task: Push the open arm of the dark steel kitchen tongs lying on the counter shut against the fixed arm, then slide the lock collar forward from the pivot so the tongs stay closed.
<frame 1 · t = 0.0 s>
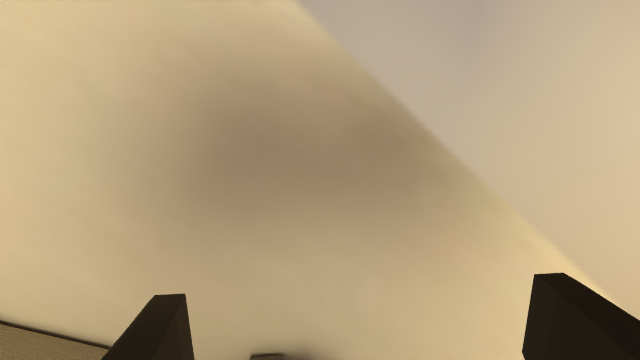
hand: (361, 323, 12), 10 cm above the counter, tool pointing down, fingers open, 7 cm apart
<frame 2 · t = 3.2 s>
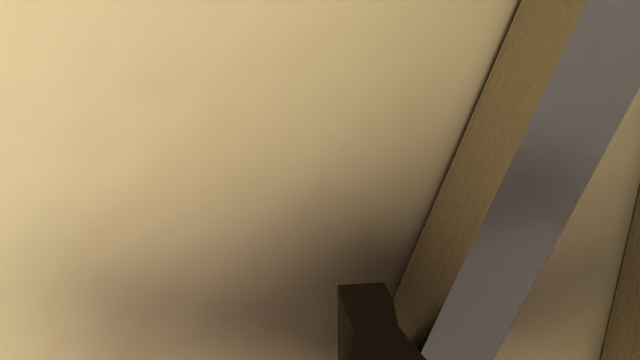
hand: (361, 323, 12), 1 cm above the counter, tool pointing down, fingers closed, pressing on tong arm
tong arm: (452, 276, 12), point 1 cm above the counter, hinge at -18.2°, touching gripper
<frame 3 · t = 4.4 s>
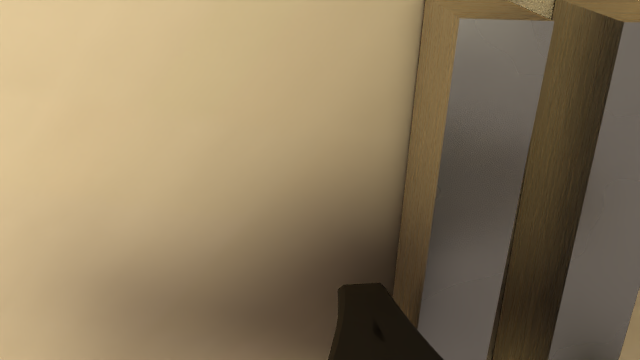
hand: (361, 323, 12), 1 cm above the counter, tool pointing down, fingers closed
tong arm: (428, 311, 12), point 1 cm above the counter, hinge at -1.5°, touching gripper
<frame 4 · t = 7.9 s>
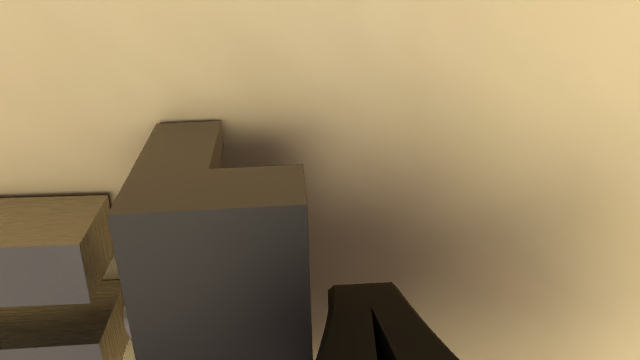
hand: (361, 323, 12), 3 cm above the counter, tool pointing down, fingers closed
tongs base: (195, 258, 15), on the counter
lock collar: (234, 301, 13), point 2 cm above the counter, slide at 0.0 cm, touching gripper
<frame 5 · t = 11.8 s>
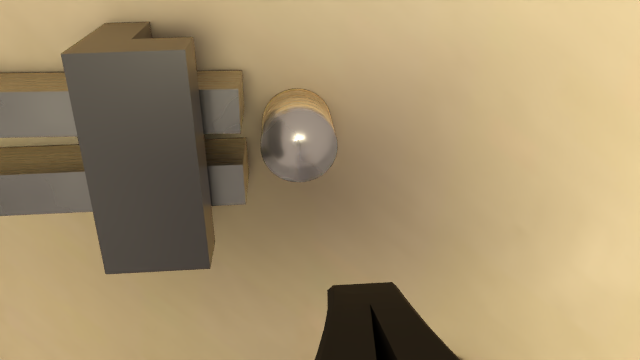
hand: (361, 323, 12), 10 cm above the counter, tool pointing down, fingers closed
tongs base: (296, 122, 21), on the counter
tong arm: (47, 97, 19), point 1 cm above the counter, hinge at -1.5°
lock collar: (156, 143, 18), point 2 cm above the counter, slide at 5.6 cm
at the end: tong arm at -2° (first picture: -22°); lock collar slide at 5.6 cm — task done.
